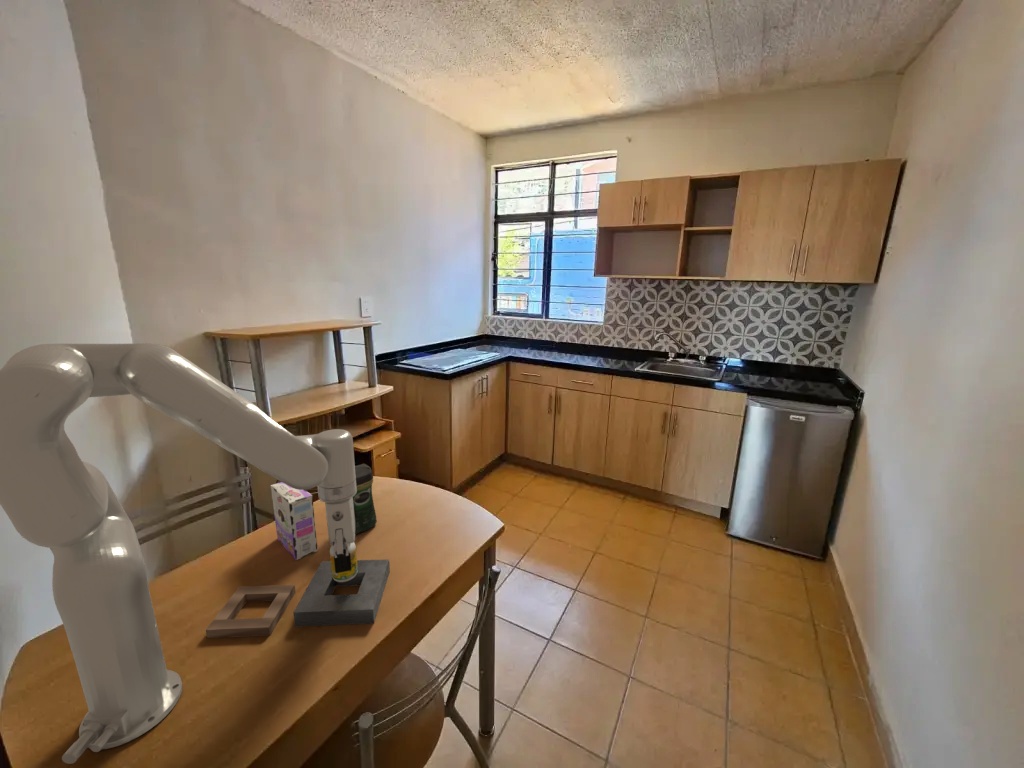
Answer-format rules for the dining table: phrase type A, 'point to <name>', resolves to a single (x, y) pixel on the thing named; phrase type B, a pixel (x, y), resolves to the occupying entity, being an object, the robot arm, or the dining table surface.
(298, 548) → the candy box
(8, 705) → the dining table surface
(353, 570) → the supplement bottle
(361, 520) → the coffee jar
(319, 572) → the block
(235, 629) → the walnut frame
